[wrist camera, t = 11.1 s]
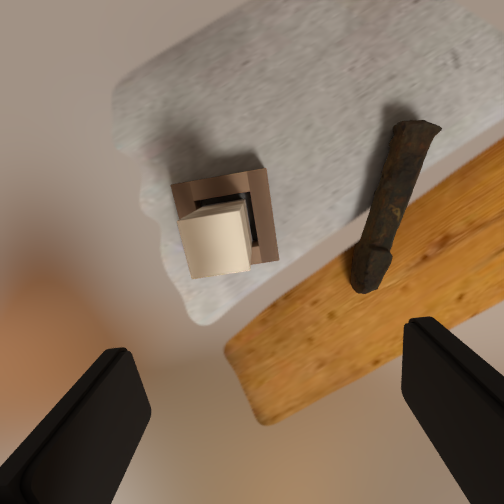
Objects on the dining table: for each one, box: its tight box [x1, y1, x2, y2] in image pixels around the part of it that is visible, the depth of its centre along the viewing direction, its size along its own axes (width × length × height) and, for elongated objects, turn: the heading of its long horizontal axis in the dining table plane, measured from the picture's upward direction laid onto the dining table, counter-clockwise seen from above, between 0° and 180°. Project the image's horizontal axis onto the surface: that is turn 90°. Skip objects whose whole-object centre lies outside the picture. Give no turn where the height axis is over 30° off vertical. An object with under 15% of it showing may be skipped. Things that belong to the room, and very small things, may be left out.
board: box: [171, 168, 279, 265], centre depth 28 cm, size 10×10×3 cm
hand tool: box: [351, 120, 442, 294], centre depth 27 cm, size 19×4×5 cm, turn 166°
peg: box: [177, 199, 253, 279], centre depth 23 cm, size 5×5×12 cm
